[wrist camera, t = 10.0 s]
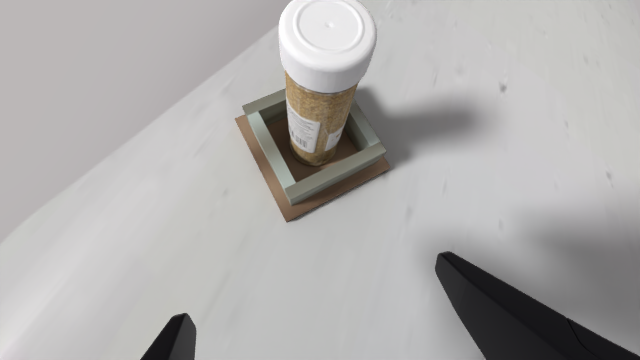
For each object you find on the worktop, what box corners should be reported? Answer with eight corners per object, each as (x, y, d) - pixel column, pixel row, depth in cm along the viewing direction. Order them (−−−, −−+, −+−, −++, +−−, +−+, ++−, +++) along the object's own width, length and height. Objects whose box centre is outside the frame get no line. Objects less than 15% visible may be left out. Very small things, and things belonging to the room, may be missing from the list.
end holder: (387, 169, 25) (402, 156, 21) (286, 222, 23) (284, 217, 19) (333, 82, 27) (339, 56, 23) (236, 122, 25) (225, 101, 21)
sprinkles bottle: (343, 158, 24) (396, 53, 11) (297, 173, 23) (297, 79, 10) (326, 117, 25) (356, -24, 12) (282, 130, 24) (263, -6, 11)
